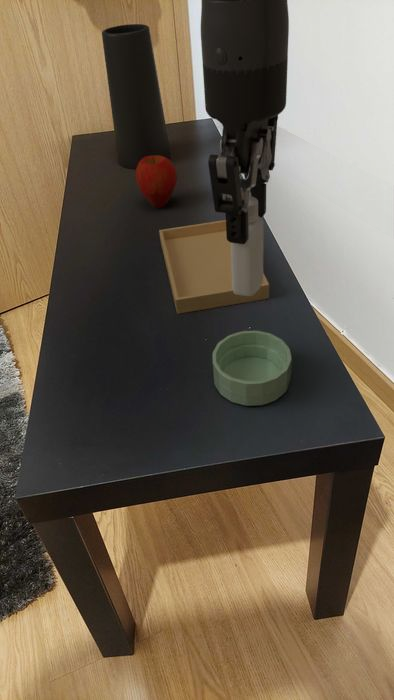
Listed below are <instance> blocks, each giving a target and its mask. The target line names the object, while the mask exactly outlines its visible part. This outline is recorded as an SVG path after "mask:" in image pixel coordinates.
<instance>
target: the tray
mask: <svg viewBox="0 0 394 700" xmlns="http://www.w3.org/2000/svg"><path fill="white" fill-rule="evenodd" d="M158 233H159V240H160V246H161V250H162V254H163V258H164V263H165V267H166V273H167V276H168V281H169V284H170V285H169V286H170V290H171V294H172V298H173V302H174V306H175V310H176V314H177V315H179V314H185V313H191V312H197V311H202V310H209V309H215V308H222V307H227V306H234V305H240V304H247V303H252V302H258V301H262V300H263V301H264V300H269V299H270V283H269V281H268V279H267V277H266V276H265V274H264V272H263V282H262V285H261V287H260V289H259V290H258V291H257V292H256V293H255V294H254V295H252V296H241V295H236V294H234V293H233V289H232V267H231V242H229V241H228V240H227V235H226V219H223V220H217V221H210V222H203V223H197V224H189V225H183V226H177V227H171V228H170V227H169V228H165V229H158Z"/></svg>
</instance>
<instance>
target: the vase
mask: <svg viewBox="0 0 394 700" xmlns="http://www.w3.org/2000/svg"><path fill="white" fill-rule="evenodd" d="M150 30H151V29H150V26H148V24H142V23H130V24H129V23H128V24H122V25H121V24H120V25H114V26H111V27H107V28H105V29H103V30H102V32H101V39H102V46H103V54H104V63H105V69H106V70H105V71H106V78H107V86H108V92H109V99H110V100H109V102H110V109H111V117H112V124H113V132H114V133H113V134H114V141H115V147H116V154H117V162H118V164H119V166H121V167H122V168H125V169H128V170H136V168H137V166H138V164H139V162H140V160H142V159H143V158H144V157H147V156H154V155H159V156H163V157H166V158H168V159H169V160H171V155H172V154H171V148H170V142H169V136H168V130H167V125H166V124H167V123H166V119H165V113H164V112H165V111H164V105H163V99H162V95H161V88H160V82H159V77H158V71H157V70H158V69H157V64H156V59H155V53H154V47H153V41H152V36H151V31H150Z"/></svg>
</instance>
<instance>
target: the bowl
mask: <svg viewBox="0 0 394 700" xmlns="http://www.w3.org/2000/svg"><path fill="white" fill-rule="evenodd" d="M292 360H293V358H292V353H291V348H290V347H289V346H288V344H287V343H286V342H285V341H284V340H283V339H281V338H280V337H278V336H277V335H274V334H272V333H271V332H266V331H261V330H242V331H238V332H234V333H231V334H229V335H227V336H226V337H224V338H223V339H222V340H220V341H218V343H217V344H216V346H215V348H214V349H213V351H212V369H213V371H212V372H213V383H214V387H215V388H216V390H217V391H218V392H219V394H220V395H221V396H222V397H224V398H225V399H226V400H228V401H229V402H231V403H235V404H237V405H242V406H246V407H250V406H251V407H252V406H264V405H267V404H270V403H272V402H275V401H278V399H279V398H281V397H282V396H283V395H284V394H285V393H286V392H287V390H288V388H289V386H290V383H291V377H292V376H291V375H292Z"/></svg>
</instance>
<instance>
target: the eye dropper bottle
mask: <svg viewBox="0 0 394 700" xmlns="http://www.w3.org/2000/svg"><path fill="white" fill-rule="evenodd" d="M231 267H232V289H233V293H234V294H236V295H241V296H252V295H254V294H255V293H256V292H257V291H258V290H259V289H260V287H261V285H262V282H263V273H264V222H263V219H262V217H259V216H258V200H257V199H256V198H254V197H252V196H251V192H250V196H249V208H248V240H247V242H246V243H245V244H237V243H231Z"/></svg>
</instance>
